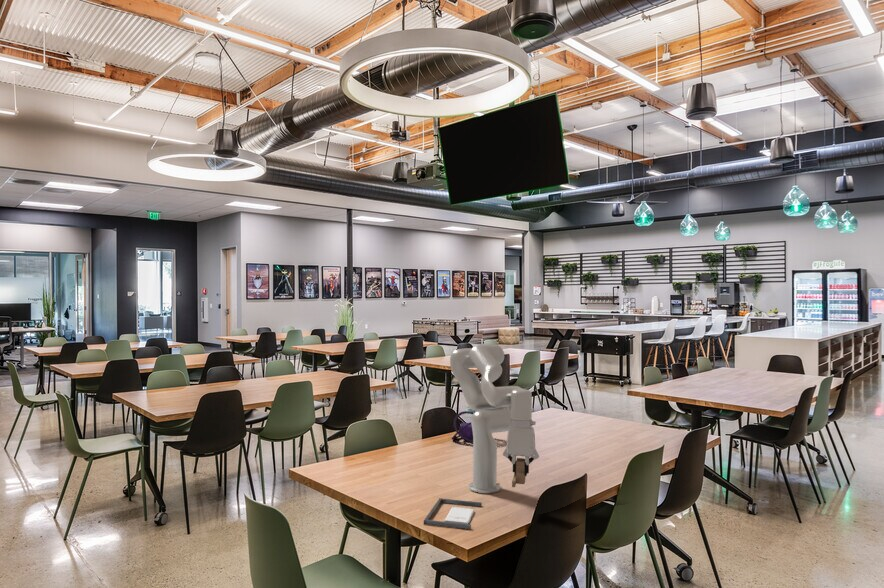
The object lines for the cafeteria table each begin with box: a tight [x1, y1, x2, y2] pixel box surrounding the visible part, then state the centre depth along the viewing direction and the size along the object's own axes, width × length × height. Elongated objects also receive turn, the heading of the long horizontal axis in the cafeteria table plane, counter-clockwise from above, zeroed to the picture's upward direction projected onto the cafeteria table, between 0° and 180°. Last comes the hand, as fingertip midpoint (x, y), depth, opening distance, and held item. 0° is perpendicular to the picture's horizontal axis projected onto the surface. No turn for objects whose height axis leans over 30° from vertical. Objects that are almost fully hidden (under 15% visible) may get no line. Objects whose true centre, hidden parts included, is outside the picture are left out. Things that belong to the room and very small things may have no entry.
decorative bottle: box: [451, 404, 476, 444], centre depth 296 cm, size 22×21×25 cm
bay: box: [423, 498, 483, 530], centre depth 190 cm, size 22×16×1 cm
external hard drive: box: [443, 506, 475, 524], centre depth 188 cm, size 2×8×12 cm
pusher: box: [511, 457, 526, 488], centre depth 196 cm, size 11×4×8 cm, turn 166°
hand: (520, 474), depth 196 cm, fingers closed on pusher, 3 cm apart
